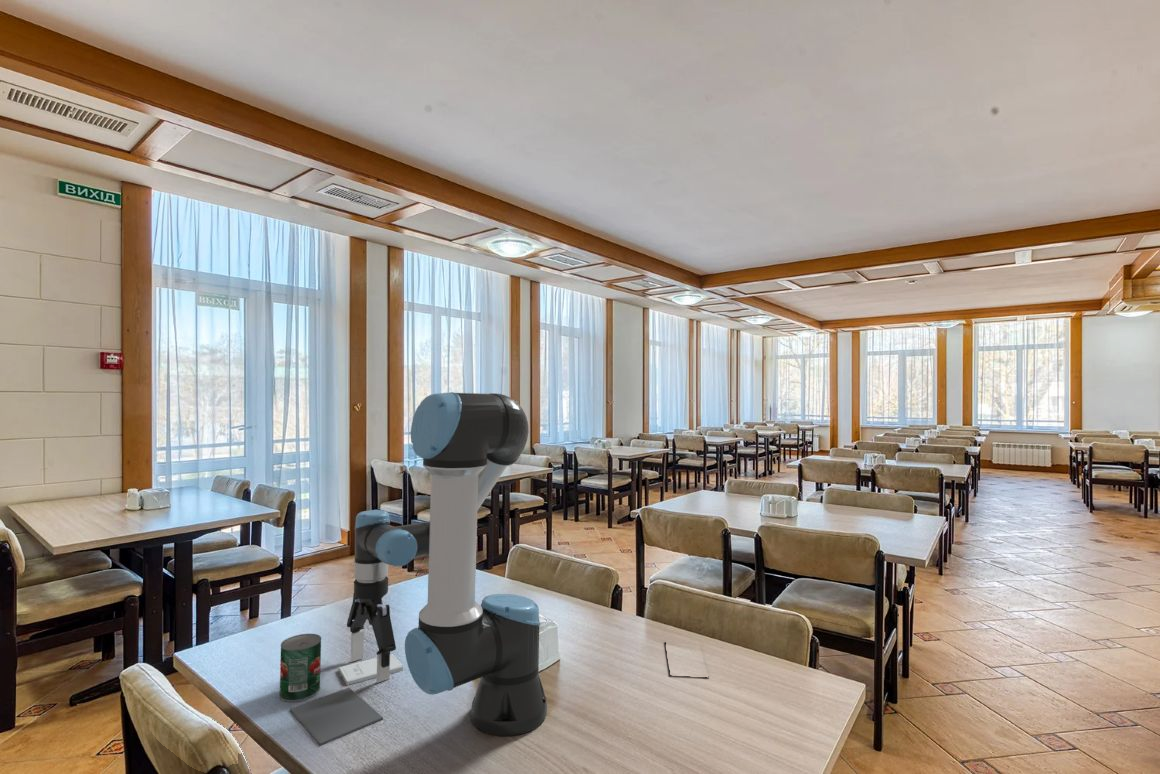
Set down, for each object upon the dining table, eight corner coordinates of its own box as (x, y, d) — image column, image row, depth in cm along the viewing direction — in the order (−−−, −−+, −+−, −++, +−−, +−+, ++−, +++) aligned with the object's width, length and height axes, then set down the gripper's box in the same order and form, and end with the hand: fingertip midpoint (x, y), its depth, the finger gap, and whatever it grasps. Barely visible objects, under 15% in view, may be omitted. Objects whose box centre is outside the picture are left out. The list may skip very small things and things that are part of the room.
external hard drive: (402, 673, 131) (346, 688, 124) (392, 659, 138) (338, 673, 130) (402, 665, 131) (346, 680, 124) (392, 652, 138) (338, 666, 131)
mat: (382, 719, 111) (382, 717, 111) (320, 745, 102) (320, 743, 102) (348, 689, 122) (348, 687, 122) (290, 710, 114) (290, 708, 114)
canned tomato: (274, 691, 121) (275, 640, 121) (312, 679, 126) (313, 630, 127) (286, 706, 115) (287, 652, 115) (326, 692, 121) (326, 641, 121)
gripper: (412, 587, 125) (410, 683, 125) (363, 563, 143) (361, 647, 142) (380, 595, 120) (378, 695, 119) (333, 569, 137) (331, 656, 137)
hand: (369, 669), depth 131 cm, fingers open, 13 cm apart
